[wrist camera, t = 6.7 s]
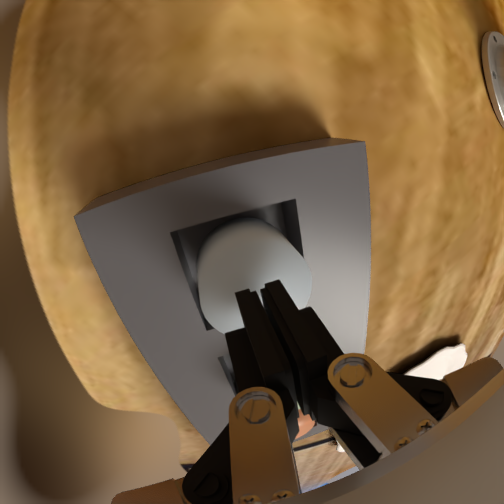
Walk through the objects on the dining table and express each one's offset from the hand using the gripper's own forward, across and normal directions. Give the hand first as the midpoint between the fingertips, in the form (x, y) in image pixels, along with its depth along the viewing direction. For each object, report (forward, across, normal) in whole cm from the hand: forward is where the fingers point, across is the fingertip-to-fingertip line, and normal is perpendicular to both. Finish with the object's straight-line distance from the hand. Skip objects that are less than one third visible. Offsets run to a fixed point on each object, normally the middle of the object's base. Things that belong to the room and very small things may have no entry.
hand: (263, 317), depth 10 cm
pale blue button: (+4, 0, 0) cm, 4 cm away
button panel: (+7, 0, +8) cm, 11 cm away
